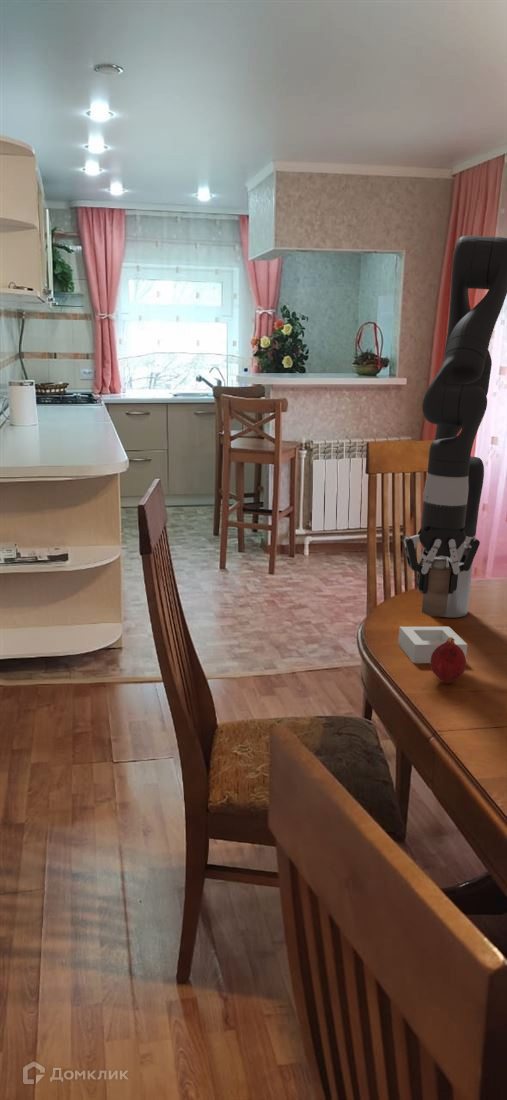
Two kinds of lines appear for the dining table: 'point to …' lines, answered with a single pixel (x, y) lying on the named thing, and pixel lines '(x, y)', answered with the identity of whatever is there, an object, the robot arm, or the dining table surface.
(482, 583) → the dining table surface
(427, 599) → the pepper mill
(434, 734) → the dining table surface
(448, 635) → the holder
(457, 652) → the onion
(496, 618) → the dining table surface
